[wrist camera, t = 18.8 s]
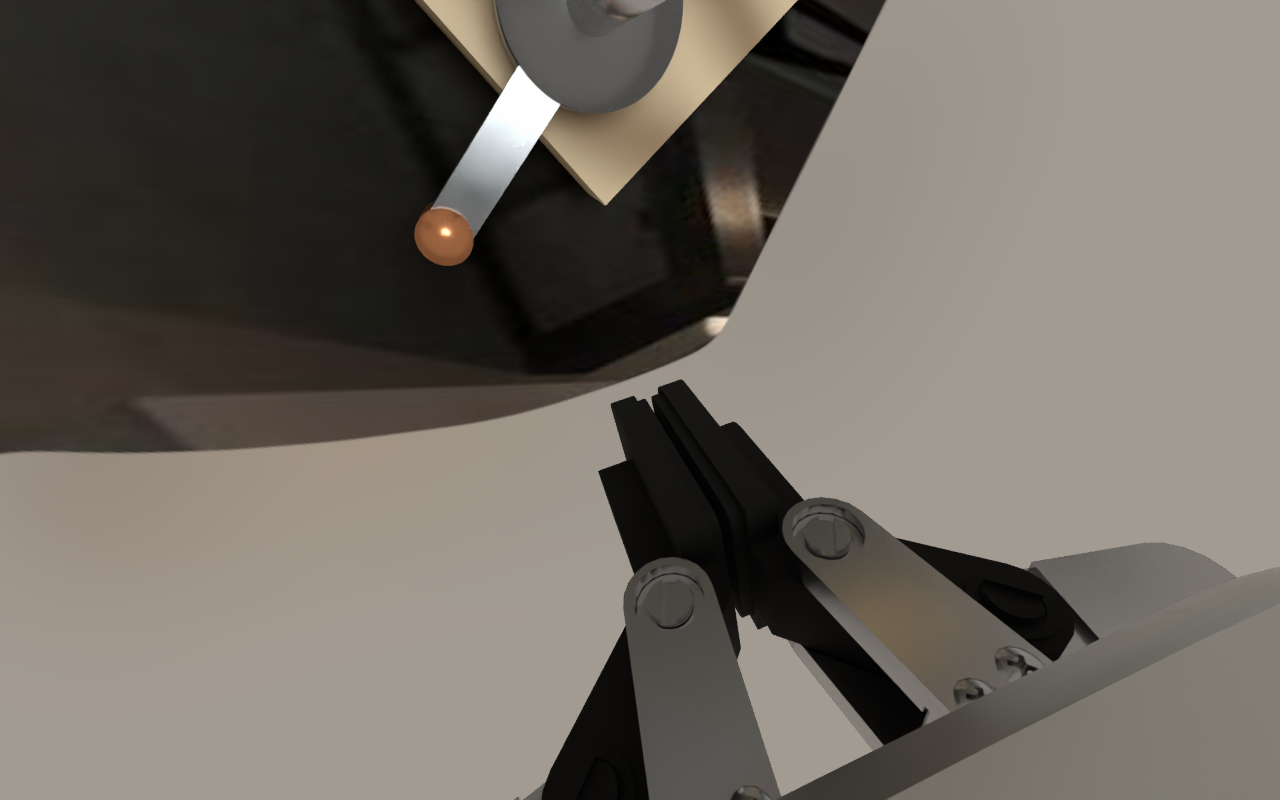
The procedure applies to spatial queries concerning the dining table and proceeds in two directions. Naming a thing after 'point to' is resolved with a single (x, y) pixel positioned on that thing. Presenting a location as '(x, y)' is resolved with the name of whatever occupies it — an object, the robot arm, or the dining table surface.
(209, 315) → the dining table surface
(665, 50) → the grey crank lever
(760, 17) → the block
